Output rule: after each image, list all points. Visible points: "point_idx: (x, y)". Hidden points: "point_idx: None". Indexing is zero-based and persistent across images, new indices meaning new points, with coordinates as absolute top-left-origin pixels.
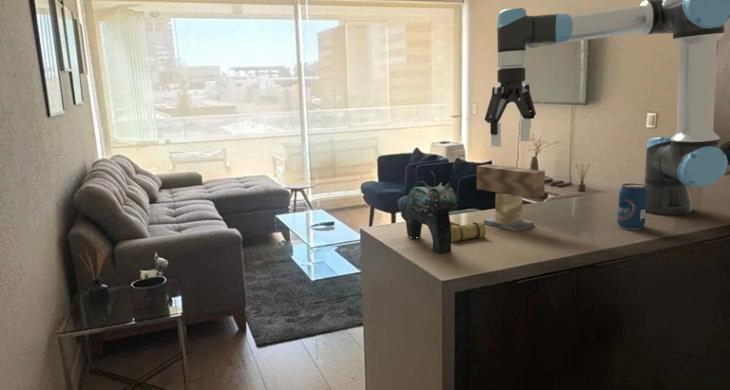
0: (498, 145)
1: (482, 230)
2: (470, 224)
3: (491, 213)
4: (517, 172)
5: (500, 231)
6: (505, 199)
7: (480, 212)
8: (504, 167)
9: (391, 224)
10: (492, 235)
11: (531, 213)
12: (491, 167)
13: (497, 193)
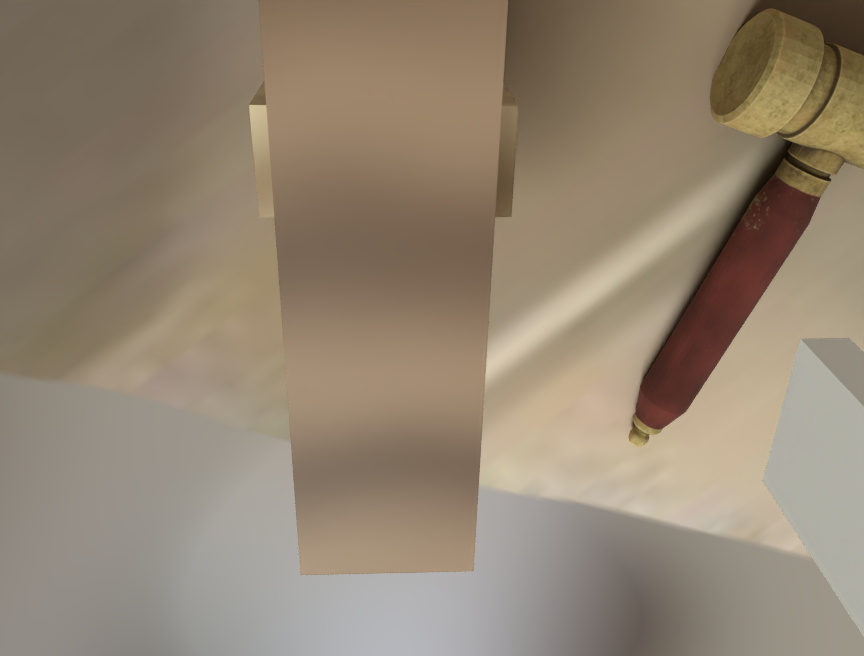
0: (854, 364)
1: (800, 21)
2: (843, 105)
3: (229, 352)
4: (505, 44)
5: (555, 33)
6: (512, 97)
7: (262, 411)
8: (361, 336)
9: (794, 549)
10: (670, 12)
11: (5, 166)
12: (452, 433)
13: (502, 204)
